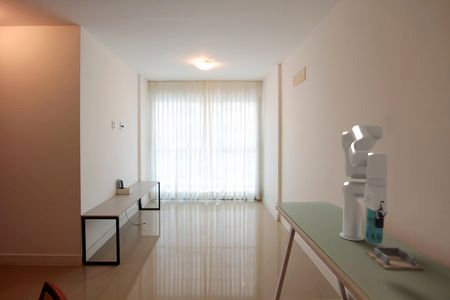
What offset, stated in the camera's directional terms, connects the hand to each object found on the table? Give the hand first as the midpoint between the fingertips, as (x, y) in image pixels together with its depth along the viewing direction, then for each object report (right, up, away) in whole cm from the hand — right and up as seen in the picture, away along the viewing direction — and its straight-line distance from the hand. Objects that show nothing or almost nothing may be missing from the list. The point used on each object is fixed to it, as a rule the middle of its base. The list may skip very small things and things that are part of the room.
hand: (374, 224), depth 114 cm
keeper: (+14, -19, +10) cm, 26 cm away
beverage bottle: (0, -9, 0) cm, 9 cm away
